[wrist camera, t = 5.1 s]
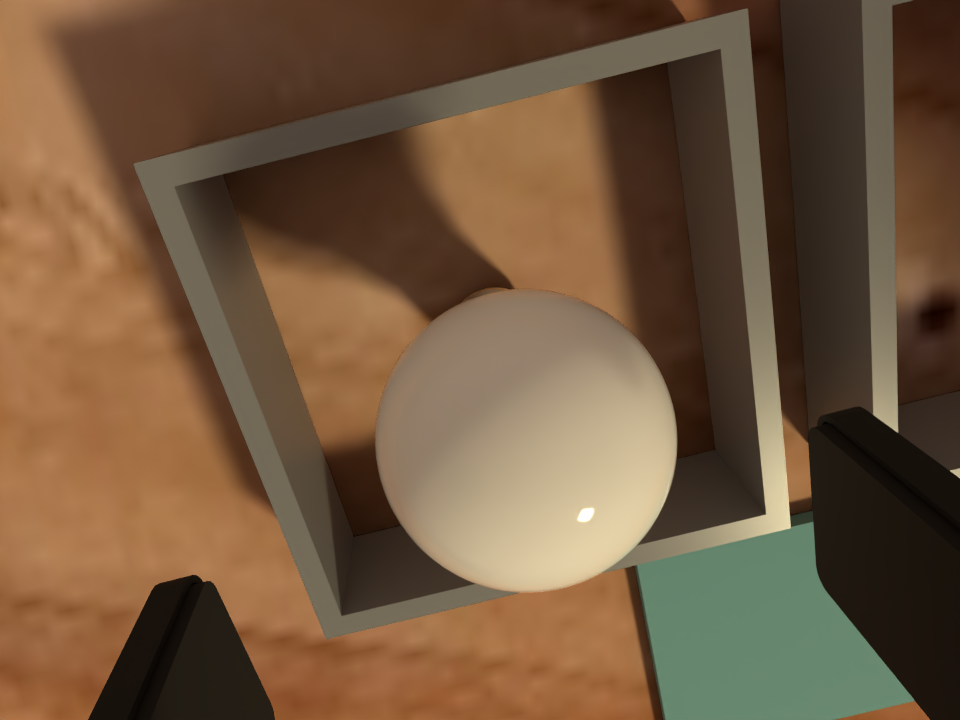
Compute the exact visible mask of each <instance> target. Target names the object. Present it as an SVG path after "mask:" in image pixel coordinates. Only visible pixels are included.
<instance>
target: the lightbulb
mask: <svg viewBox="0 0 960 720" xmlns="http://www.w3.org/2000/svg"><path fill="white" fill-rule="evenodd" d="M375 452H376V461H377V467H378V472H379V476H380V480H381V484H382V487H383V490H384V493H385V495H386V498H387V500H388V502H389V505H390V507H391V509H392V511H393V512H394V514H395V516H396V518H397V519H398V521H399V523H400V524H401V526H402V527H403V529H404V530H405V531H406V533H407V534H408V535H409V537H410V538H411V539H412V540H413V541H414V542H415V544H416V545H417V546H418V547H419V548H420V549H421V550H422V551H423V552H424V553H425V554H427V555H428V556H429V557H430V558H431V559H433V560H434V561H435V562H436V563H438V564H439V565H441V566H442V567H444V568H445V569H447V570H448V571H450V572H452V573H453V574H455V575H457V576H459V577H461V578H463V579H465V580H468V581H470V582H473V583H475V584H478V585H481V586H484V587H488V588H492V589H496V590H501V591H508V592H519V593H536V592H546V591H553V590H558V589H563V588H567V587H570V586H573V585H576V584H579V583H582V582H584V581H587V580H589V579H591V578H593V577H595V576H597V575H599V574H601V573H603V572H604V571H606V570H608V569H609V568H611V567H612V566H614V565H615V564H616V563H618V562H619V561H620V560H622V559H623V558H624V557H625V556H626V555H627V554H628V553H630V552H631V551H632V550H633V549H634V548H635V547H636V546H637V545H638V543H639V542H640V541H641V540H642V539H643V538H644V536H645V535H646V534H647V533H648V531H649V530H650V528H651V527H652V525H653V524H654V522H655V521H656V519H657V517H658V516H659V514H660V512H661V510H662V508H663V506H664V504H665V501H666V499H667V496H668V494H669V491H670V488H671V484H672V481H673V477H674V472H675V466H676V459H677V425H676V418H675V412H674V408H673V403H672V400H671V396H670V393H669V390H668V388H667V385H666V383H665V380H664V378H663V376H662V374H661V372H660V370H659V368H658V366H657V365H656V363H655V361H654V360H653V358H652V356H651V355H650V354H649V352H648V351H647V349H646V348H645V347H644V345H643V344H642V343H641V342H640V341H639V340H638V338H637V337H636V336H635V335H634V334H633V333H632V332H631V331H630V330H629V329H627V328H626V327H625V326H624V325H623V324H622V323H620V322H619V321H618V320H617V319H615V318H614V317H613V316H611V315H610V314H608V313H607V312H605V311H603V310H602V309H600V308H598V307H596V306H594V305H592V304H590V303H588V302H586V301H584V300H581V299H579V298H576V297H573V296H570V295H566V294H563V293H559V292H554V291H549V290H541V289H506V288H499V287H492V288H485V289H482V290H479V291H477V292H475V293H473V294H471V295H470V296H468V297H467V298H466V299H465V300H463V302H462V303H460V304H458V305H456V306H454V307H452V308H451V309H449V310H447V311H446V312H444V313H443V314H441V315H440V316H438V317H437V318H435V319H434V320H433V321H431V322H430V323H429V324H428V325H427V326H426V327H424V328H423V329H422V330H421V331H420V332H419V333H418V334H417V335H416V336H415V337H414V339H413V340H412V341H411V342H410V343H409V344H408V346H407V347H406V348H405V350H404V351H403V352H402V354H401V355H400V357H399V358H398V360H397V362H396V363H395V365H394V367H393V369H392V371H391V373H390V375H389V377H388V379H387V381H386V384H385V386H384V389H383V392H382V395H381V399H380V402H379V407H378V412H377V418H376V427H375Z"/></svg>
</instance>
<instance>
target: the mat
mask: <svg viewBox="0 0 960 720" xmlns="http://www.w3.org/2000/svg"><path fill="white" fill-rule="evenodd" d="M790 523H791V528H790V529H786V530H781V531H777V532H773V533H769V534H765V535H761V536H756V537H752V538H748V539H744V540H740V541H735V542H731V543H727V544H723V545H719V546H714V547H710V548H706V549H702V550H698V551H693V552H689V553H685V554H681V555H677V556H673V557H668V558H664V559H660V560H656V561H652V562H647V563H643V564H639V565H635V570H636V576H637V581H638V587H639V592H640V597H641V603H642V608H643V613H644V619H645V624H646V629H647V635H648V640H649V646H650V651H651V656H652V662H653V667H654V672H655V678H656V683H657V688H658V694H659V699H660V704H661V710H662V715H663V720H835V719H839V718H844V717H848V716H852V715H856V714H861V713H865V712H869V711H874V710H878V709H882V708H886V707H891V706H895V705H899V704H904V703H908V702H912V701H915V700H914V699H913V698H912V696H911V695H910V694H909V693H908V692H907V690H906V689H905V688H904V687H903V685H902V684H901V683H900V682H899V680H898V679H897V678H896V677H895V675H894V674H893V673H892V672H891V671H890V669H889V668H888V667H887V666H886V664H885V663H884V662H883V661H882V659H881V658H880V657H879V656H878V655H877V653H876V652H875V651H874V650H873V648H872V647H871V646H870V645H869V643H868V642H867V641H866V640H865V639H864V637H863V636H862V635H861V634H860V632H859V631H858V630H857V629H856V627H855V626H854V625H853V624H852V622H851V621H850V620H849V619H848V618H847V616H846V615H845V614H844V613H843V611H842V610H841V609H840V608H839V606H838V605H837V604H836V603H835V602H834V600H833V599H832V598H831V597H830V595H829V594H828V593H827V592H826V590H825V589H824V587H823V585H822V583H821V581H820V579H819V576H818V573H817V568H816V557H815V540H814V524H813V511H809V512H804V513H800V514H796V515H792V516H790Z"/></svg>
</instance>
